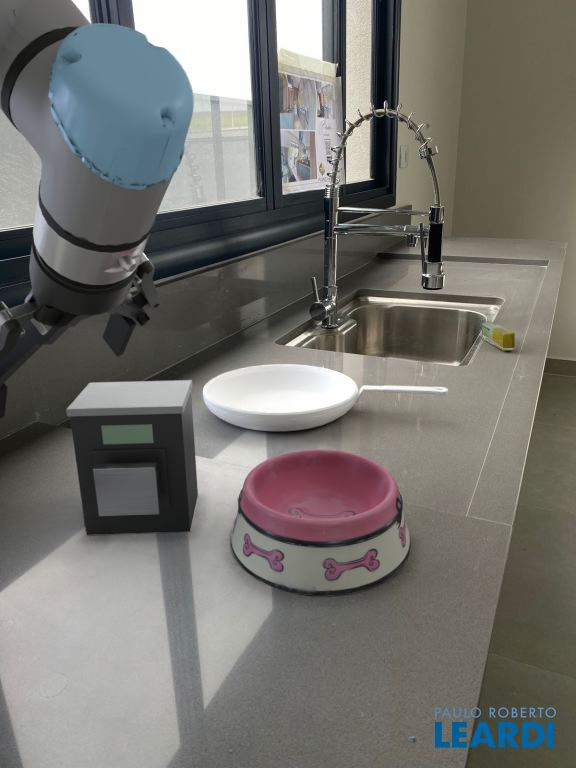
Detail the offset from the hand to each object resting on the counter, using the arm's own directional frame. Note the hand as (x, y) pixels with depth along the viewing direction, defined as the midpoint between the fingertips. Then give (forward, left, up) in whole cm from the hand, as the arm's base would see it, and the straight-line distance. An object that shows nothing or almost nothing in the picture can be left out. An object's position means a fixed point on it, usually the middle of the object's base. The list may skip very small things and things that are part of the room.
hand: (56, 374), depth 61 cm
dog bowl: (+27, +1, -17) cm, 32 cm away
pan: (+23, +38, -17) cm, 47 cm away
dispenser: (+7, +3, -17) cm, 19 cm away
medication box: (+56, +84, -17) cm, 102 cm away
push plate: (+8, -3, -13) cm, 16 cm away
